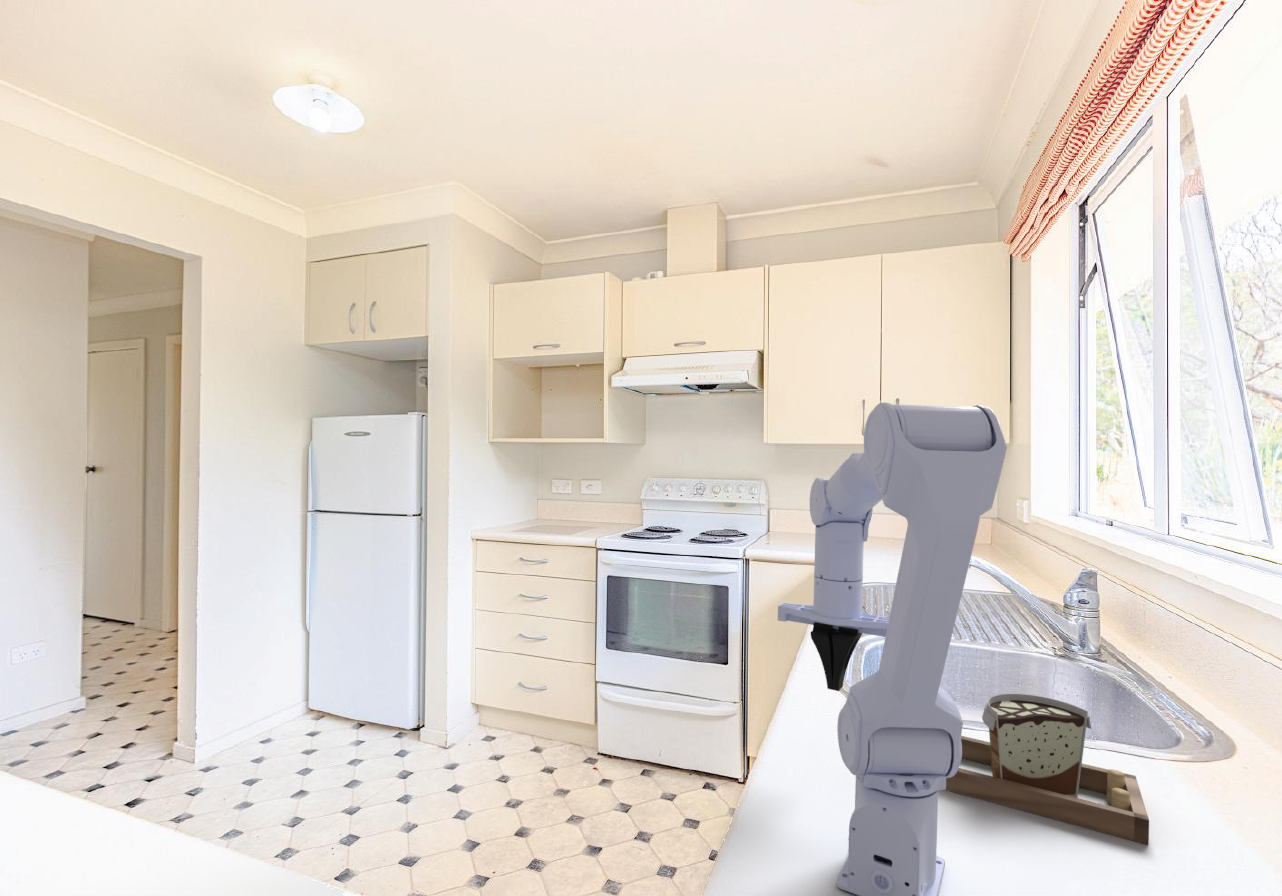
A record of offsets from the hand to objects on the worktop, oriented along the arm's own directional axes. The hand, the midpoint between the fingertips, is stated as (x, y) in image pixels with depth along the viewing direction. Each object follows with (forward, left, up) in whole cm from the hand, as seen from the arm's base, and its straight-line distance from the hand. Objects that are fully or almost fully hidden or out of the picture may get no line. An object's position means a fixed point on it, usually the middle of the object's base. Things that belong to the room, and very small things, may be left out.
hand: (835, 687), depth 80 cm
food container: (+10, -20, -11) cm, 25 cm away
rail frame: (+9, -21, -10) cm, 25 cm away
